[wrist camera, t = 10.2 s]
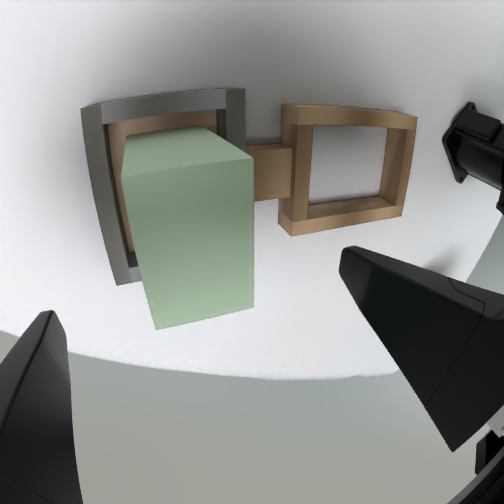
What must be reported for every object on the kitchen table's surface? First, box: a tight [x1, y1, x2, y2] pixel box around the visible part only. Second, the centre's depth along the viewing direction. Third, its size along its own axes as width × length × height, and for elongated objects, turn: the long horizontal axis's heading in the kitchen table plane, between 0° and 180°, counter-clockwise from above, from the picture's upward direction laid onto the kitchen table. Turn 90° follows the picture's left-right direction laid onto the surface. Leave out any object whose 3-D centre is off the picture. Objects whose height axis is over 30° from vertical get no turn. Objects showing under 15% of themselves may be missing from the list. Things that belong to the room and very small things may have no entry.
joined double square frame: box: [81, 88, 417, 286], centre depth 18 cm, size 21×10×2 cm, turn 89°
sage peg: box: [121, 125, 254, 330], centre depth 13 cm, size 6×4×8 cm, turn 179°
